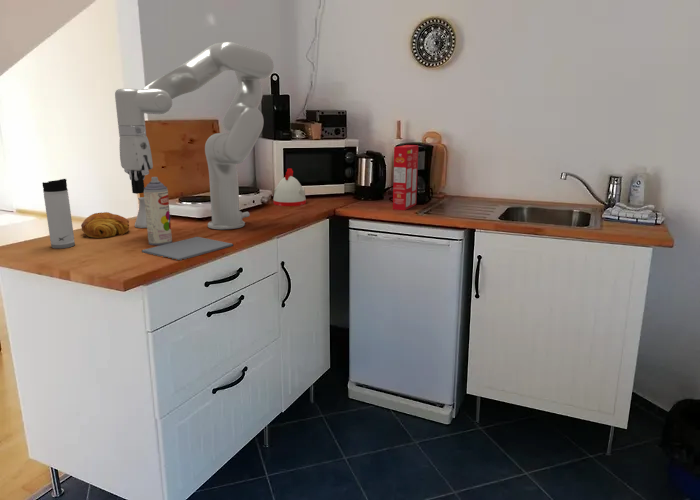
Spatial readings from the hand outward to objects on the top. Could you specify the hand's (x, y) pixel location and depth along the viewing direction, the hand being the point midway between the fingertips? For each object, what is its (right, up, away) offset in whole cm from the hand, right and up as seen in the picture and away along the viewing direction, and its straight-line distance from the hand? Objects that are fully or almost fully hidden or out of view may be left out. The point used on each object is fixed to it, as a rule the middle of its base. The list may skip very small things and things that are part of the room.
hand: (138, 192), depth 164 cm
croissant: (-15, -12, +11) cm, 22 cm away
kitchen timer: (+39, +2, +67) cm, 78 cm away
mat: (+18, -17, -8) cm, 26 cm away
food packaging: (+88, 0, +59) cm, 106 cm away
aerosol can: (+7, -16, -1) cm, 17 cm away
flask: (-6, -9, +22) cm, 25 cm away
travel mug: (-20, -17, -5) cm, 27 cm away
